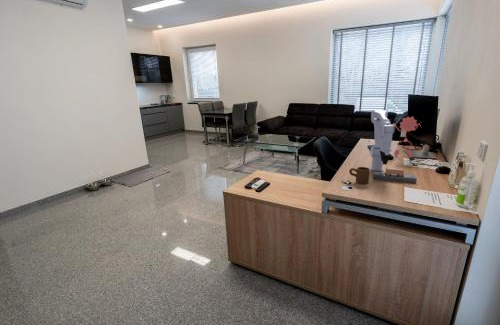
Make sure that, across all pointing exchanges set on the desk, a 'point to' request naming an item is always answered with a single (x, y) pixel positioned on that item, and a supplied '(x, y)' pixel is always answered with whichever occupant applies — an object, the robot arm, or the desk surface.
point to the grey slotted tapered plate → (394, 177)
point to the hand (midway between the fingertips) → (383, 162)
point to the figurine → (407, 126)
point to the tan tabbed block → (394, 171)
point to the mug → (361, 174)
